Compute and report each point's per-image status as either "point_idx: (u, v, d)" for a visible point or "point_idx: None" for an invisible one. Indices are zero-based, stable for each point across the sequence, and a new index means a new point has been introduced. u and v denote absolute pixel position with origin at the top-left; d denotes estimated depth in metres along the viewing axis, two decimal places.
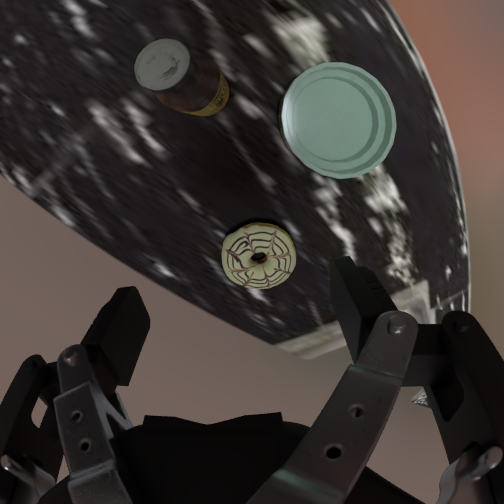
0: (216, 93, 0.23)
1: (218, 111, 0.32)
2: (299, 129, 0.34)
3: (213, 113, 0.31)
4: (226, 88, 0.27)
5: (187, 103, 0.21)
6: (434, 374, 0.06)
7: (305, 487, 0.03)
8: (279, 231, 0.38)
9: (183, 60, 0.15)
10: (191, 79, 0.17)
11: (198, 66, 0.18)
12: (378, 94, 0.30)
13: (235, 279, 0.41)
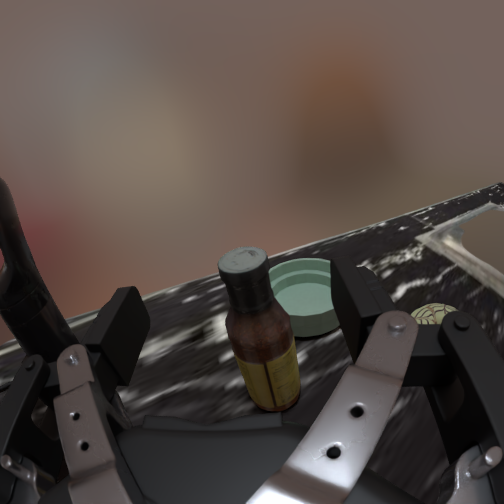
0: None
1: None
2: None
3: None
4: None
5: None
6: (434, 374, 0.06)
7: (305, 487, 0.03)
8: None
9: (245, 248, 0.24)
10: None
11: None
12: (282, 274, 0.50)
13: None
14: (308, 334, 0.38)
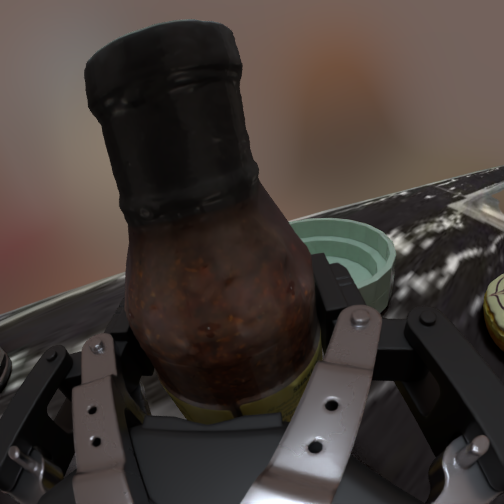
0: None
1: None
2: None
3: None
4: None
5: None
6: (401, 369, 0.06)
7: (305, 487, 0.03)
8: (488, 293, 0.17)
9: None
10: None
11: None
12: None
13: None
14: None
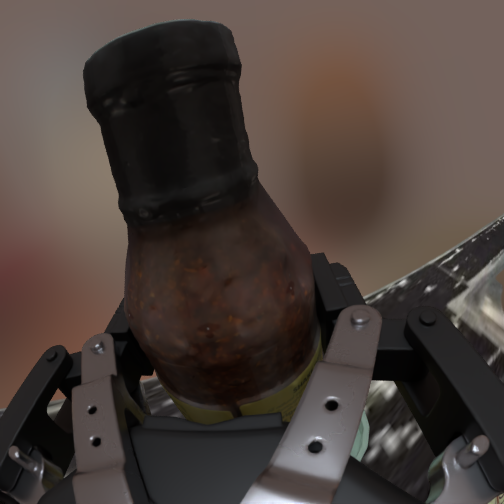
0: None
1: None
2: None
3: None
4: None
5: None
6: (401, 369, 0.06)
7: (305, 487, 0.03)
8: None
9: None
10: None
11: None
12: None
13: None
14: None
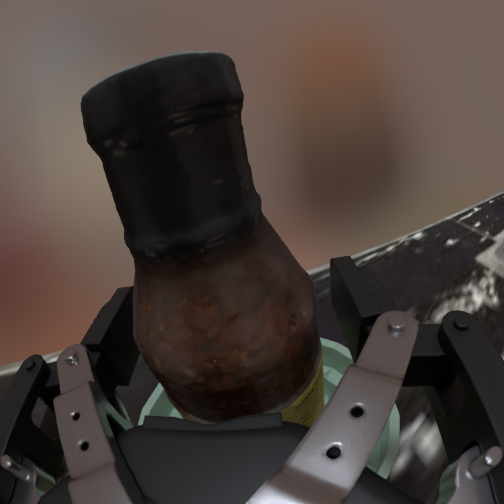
0: None
1: None
2: None
3: None
4: None
5: None
6: (434, 374, 0.06)
7: (305, 487, 0.03)
8: None
9: None
10: None
11: None
12: None
13: None
14: None
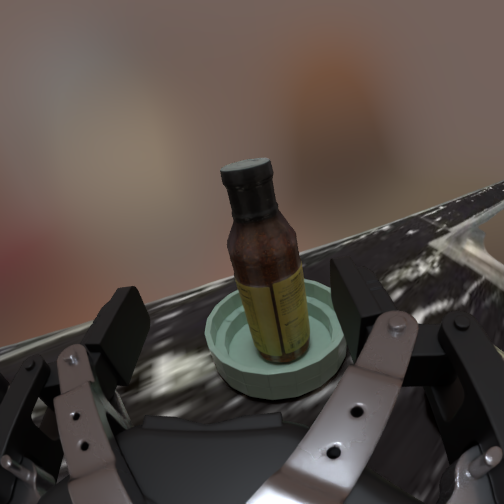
0: None
1: None
2: None
3: None
4: None
5: None
6: (434, 374, 0.06)
7: (305, 487, 0.03)
8: None
9: (248, 159, 0.23)
10: None
11: None
12: None
13: None
14: (278, 397, 0.24)
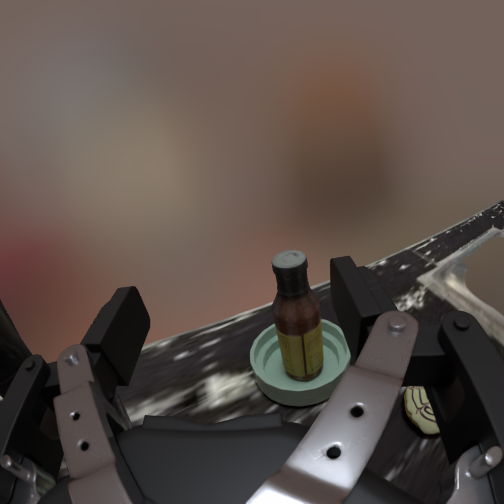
0: None
1: None
2: None
3: None
4: None
5: None
6: (434, 374, 0.06)
7: (305, 487, 0.03)
8: (409, 386, 0.31)
9: (289, 251, 0.33)
10: None
11: None
12: (276, 334, 0.46)
13: None
14: (303, 404, 0.34)
